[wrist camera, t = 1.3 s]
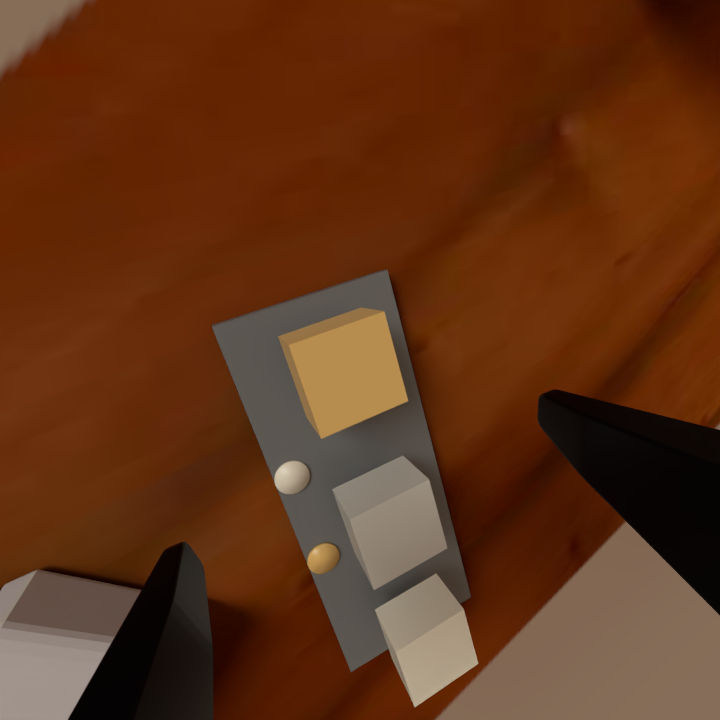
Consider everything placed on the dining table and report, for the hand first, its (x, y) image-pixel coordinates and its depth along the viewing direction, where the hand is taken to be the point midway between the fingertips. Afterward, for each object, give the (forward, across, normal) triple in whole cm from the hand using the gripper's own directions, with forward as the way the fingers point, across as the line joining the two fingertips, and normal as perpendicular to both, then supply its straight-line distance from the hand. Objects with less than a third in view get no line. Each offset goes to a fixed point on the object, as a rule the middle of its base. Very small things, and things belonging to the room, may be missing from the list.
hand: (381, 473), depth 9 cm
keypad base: (+11, -1, +12) cm, 17 cm away
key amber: (+11, -1, +3) cm, 11 cm away
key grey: (+8, -1, +12) cm, 15 cm away
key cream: (+6, -1, +20) cm, 21 cm away
